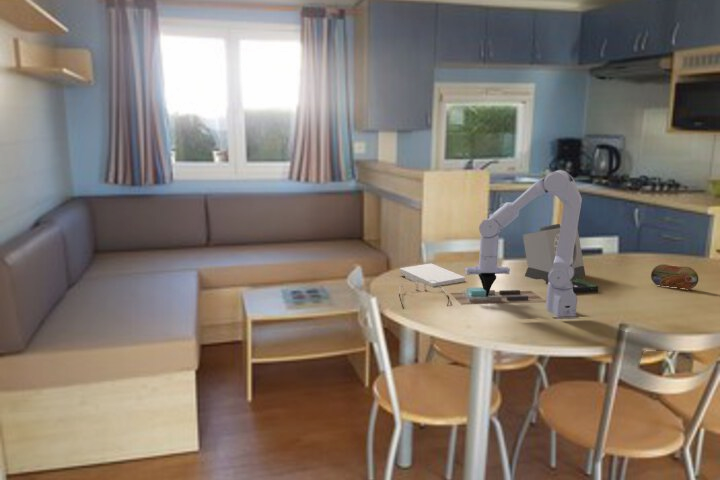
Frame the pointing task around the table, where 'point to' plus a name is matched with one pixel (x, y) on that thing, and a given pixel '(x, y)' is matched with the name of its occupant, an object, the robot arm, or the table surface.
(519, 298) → the grey blocks
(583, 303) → the table surface
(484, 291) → the plug
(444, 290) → the eyeglasses
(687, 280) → the tin
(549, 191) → the robot arm
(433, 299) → the table surface
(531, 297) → the base board
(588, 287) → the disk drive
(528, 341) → the table surface
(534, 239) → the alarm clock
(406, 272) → the white flat block
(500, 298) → the grey slab
